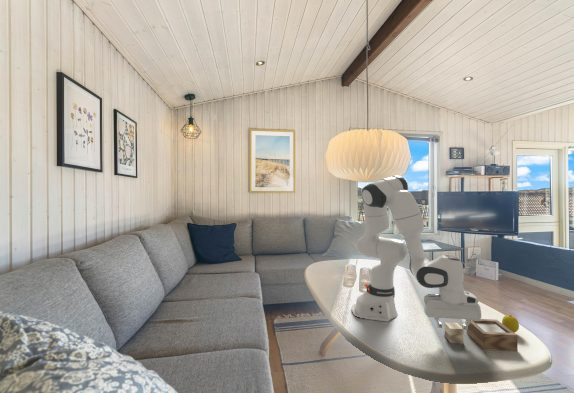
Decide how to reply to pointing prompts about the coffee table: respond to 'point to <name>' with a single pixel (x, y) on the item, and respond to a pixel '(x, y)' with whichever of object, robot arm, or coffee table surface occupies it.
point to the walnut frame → (492, 335)
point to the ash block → (454, 332)
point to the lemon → (510, 323)
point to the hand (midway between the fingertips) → (452, 328)
